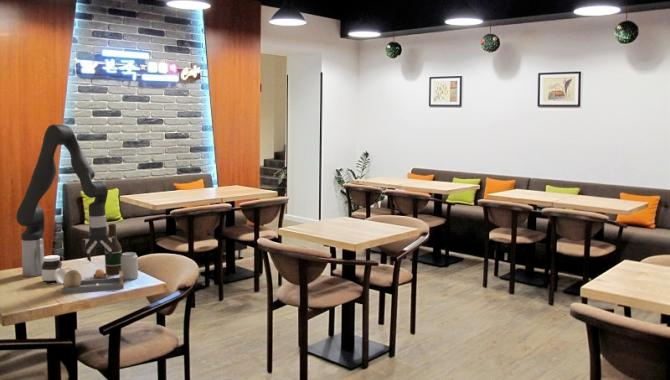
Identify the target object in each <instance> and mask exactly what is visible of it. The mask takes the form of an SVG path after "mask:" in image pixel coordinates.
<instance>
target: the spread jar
mask: <svg viewBox="0 0 670 380" xmlns="http://www.w3.org/2000/svg"><path fill="white" fill-rule="evenodd" d="M60 259H61V256H60V255H57V254H55V255H53V254H51V255H46V256H45V255H44V257H43V261H44V262H43V264H42V275H41V280H42V282H43V283H44V284H46V283H47V285H49V284H51V285H53V284H52V283H54V284H60V285H63V281H64V278H65V275H66V273H67V272H68V271H67V270H66V269H64V268H63V263H62V261H61V260H60Z"/></svg>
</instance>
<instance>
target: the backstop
mask: <svg viewBox="0 0 670 380" xmlns="http://www.w3.org/2000/svg"><path fill="white" fill-rule="evenodd" d="M118 276H119V277H118V278H119V279H120V289H119V290H121V289H124V288H125V286H124V279H123V270H119V274H118Z"/></svg>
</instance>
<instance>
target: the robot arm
mask: <svg viewBox="0 0 670 380" xmlns="http://www.w3.org/2000/svg"><path fill="white" fill-rule="evenodd" d="M58 146H64V147H65V149H66V150H68V152H69V155H70V163H71V164H70V165H71V168H72V169H73V172H74V173H75V175H76V176H77V178H78V179H79V182H80V186H81V190H82V192H83V195H85V196H86V197H87V198H90V199H93V200H94V201H92V202H90V203H89V204H88V230H89V231H88V232H89V238H82V242H81V243H82V245H81V247H82V249H81V250H82V253H84V254H86V258H87V259H86V261H89V263H90V262H91V261H92V256H91V251H92V250H93V249H94V248H95V249H97V248H104V249H105V248H106V249H108V250H109V260H111V258H112V251H113V250H116V245H115V237H114V236H113V237H110V238H109V235H108V225H107V224H108V223H107V217H106V204H107V198H108V194H109V187H108V185H107V183H106V182H105V181H102V180H98V181H97V180H96V181H93V179H94V178H95V176H96V173H95V171H94V170H93V168H92V167H91V165H90V164H89V162H88V161H87V158H86V157H85V155H84V152H83V151H82V149H81V146H80V144H79V141H78V139H77V136H76V134H75V132H74V130H73V129H72V128H71V126H69V125H66V124H56V123H55V124H51V125H49V126H48V127H47V129H46V130H45V132H44V136H43V140H42V144H41V149H40V152H39V156H38V158H37V162H36V165H35V167H34V169H33V172H32V174H31V177H30V178H31V179H30V181H29V185H27V186H28V187H27V189H26V192H25V195H24V196H23V199H22V201H21V203H20V205H19V207H18V209H17V211H16V215H15V218H16V221H17V223H18V225H19V226H21V227H26V228H25V230H24V231H23V232H22V233H21V249H22V251H21V252H22V253H21V254H22V256H21V266H22V267H21V268H22V276H23V277H38V276H42V264H43V262H44V261H43V257H45V248H44V247H45V245H44V233H45V213H44V210H43V207H41V206H40V205H39V203H40V201H41V200H42V198H43V197H44V196H45V194H46V193H47V192H48V191H49V189H50V188H51V186H52V185H53V182H54V180H55V177H56V175H57V166H56V162H55V154H56V151H57V147H58ZM108 240H110V241H111V242H112V244H113V247H112V248H110V246H109V245H108V244H107V242H108ZM88 242H89V244H90V246H89V247H88V248H87V249H86V247H87V246H86V245H87V244H88Z"/></svg>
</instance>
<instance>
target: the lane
mask: <svg viewBox="0 0 670 380" xmlns="http://www.w3.org/2000/svg"><path fill="white" fill-rule="evenodd" d="M118 289H119V290H121V289H120V279H119V277H111V278H110V277H109V278H108V277H107V279H95V280H93V279H83V280H81V284H80V287H70V288H65V287H64V286H63V287H62V288H61V294H62V295H64V294H75V293H85V292H96V291H97V292H98V291H109V290H118ZM63 293H64V294H63Z"/></svg>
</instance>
